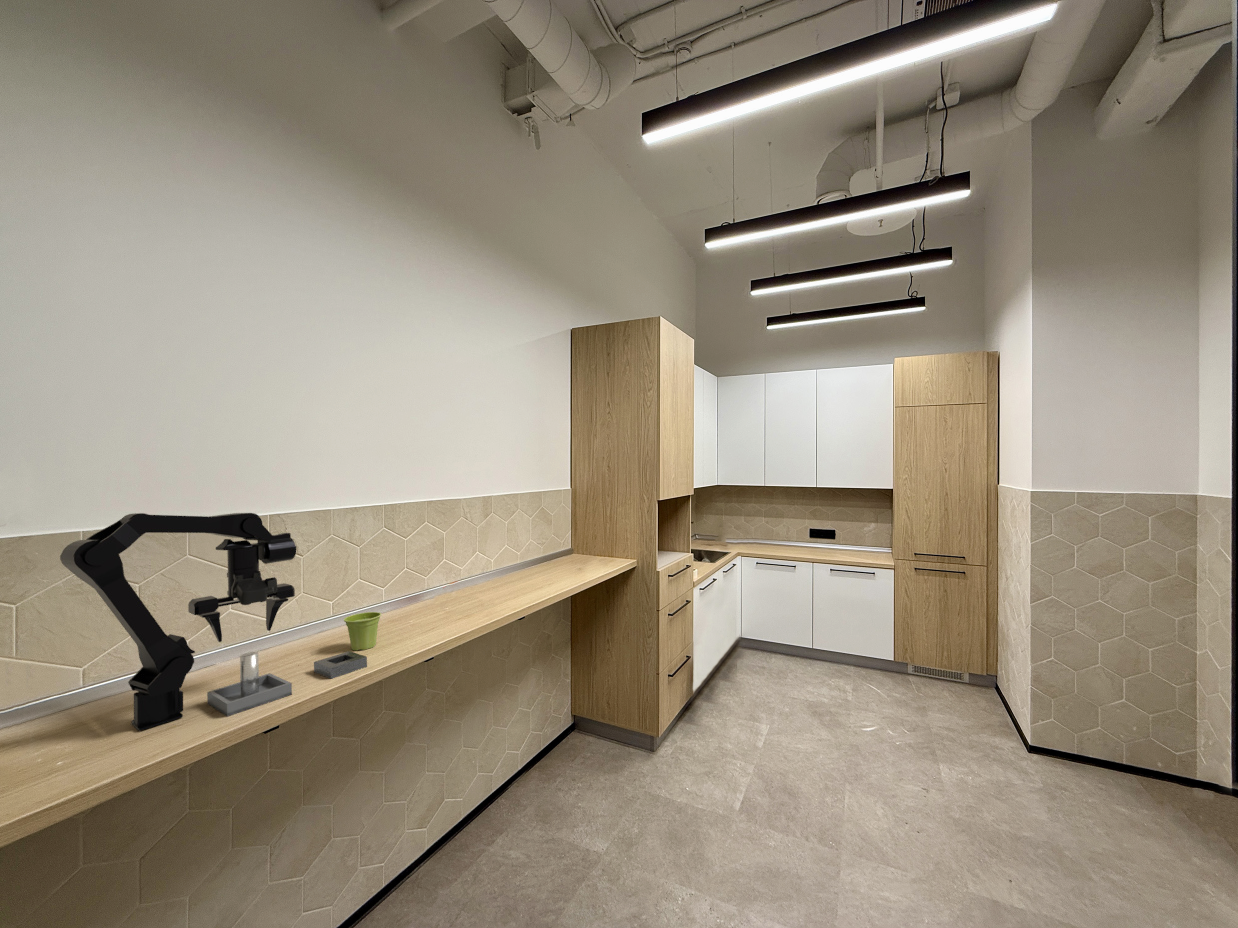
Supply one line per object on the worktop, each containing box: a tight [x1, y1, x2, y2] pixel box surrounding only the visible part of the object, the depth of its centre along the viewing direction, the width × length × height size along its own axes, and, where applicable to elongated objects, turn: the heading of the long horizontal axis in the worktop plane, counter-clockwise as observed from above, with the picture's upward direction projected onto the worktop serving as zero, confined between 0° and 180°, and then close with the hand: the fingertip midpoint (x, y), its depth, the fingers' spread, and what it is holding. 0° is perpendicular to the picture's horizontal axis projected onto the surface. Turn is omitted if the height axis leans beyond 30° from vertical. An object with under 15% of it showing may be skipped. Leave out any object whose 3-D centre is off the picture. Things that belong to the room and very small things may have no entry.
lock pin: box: [239, 651, 260, 698], centre depth 107 cm, size 3×3×9 cm
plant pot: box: [343, 611, 382, 651], centre depth 139 cm, size 9×9×9 cm
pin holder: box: [313, 650, 368, 679], centre depth 122 cm, size 9×9×2 cm
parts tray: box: [206, 672, 293, 717], centre depth 107 cm, size 12×12×2 cm
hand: (245, 635), depth 113 cm, fingers open, 9 cm apart
